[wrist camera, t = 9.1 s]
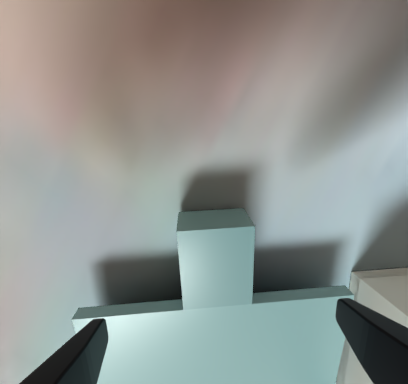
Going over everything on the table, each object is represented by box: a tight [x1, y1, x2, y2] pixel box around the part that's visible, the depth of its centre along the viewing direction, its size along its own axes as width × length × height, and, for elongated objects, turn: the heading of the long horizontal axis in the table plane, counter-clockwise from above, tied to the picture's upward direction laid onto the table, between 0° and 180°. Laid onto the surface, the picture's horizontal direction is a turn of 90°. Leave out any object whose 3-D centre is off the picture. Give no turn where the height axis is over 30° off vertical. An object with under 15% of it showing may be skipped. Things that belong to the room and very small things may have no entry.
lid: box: [72, 208, 354, 384], centre depth 14 cm, size 17×16×2 cm
